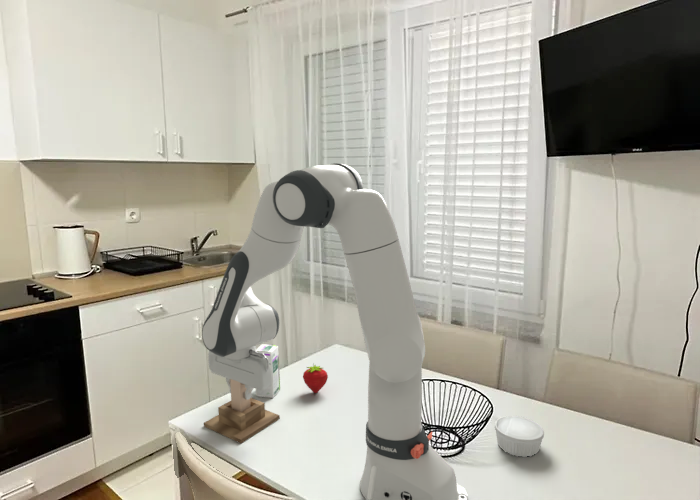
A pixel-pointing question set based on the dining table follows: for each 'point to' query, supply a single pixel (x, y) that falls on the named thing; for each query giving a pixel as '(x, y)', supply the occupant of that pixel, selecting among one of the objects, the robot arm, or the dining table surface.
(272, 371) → the syrup box
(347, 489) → the dining table surface
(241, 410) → the peach rectangular block
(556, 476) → the dining table surface
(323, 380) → the strawberry
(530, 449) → the ramekin
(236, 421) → the wooden peg socket base
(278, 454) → the dining table surface
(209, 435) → the dining table surface
